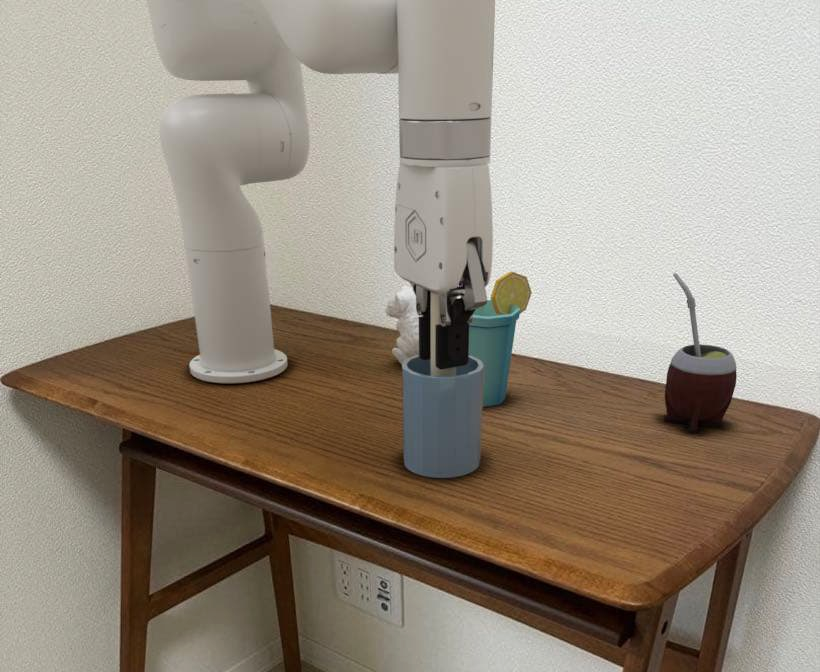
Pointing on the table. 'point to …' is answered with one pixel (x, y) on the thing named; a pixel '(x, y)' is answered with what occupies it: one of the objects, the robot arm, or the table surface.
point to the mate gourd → (699, 380)
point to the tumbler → (442, 418)
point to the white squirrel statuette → (405, 323)
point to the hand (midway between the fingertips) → (443, 360)
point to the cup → (498, 333)
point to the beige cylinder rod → (435, 321)
